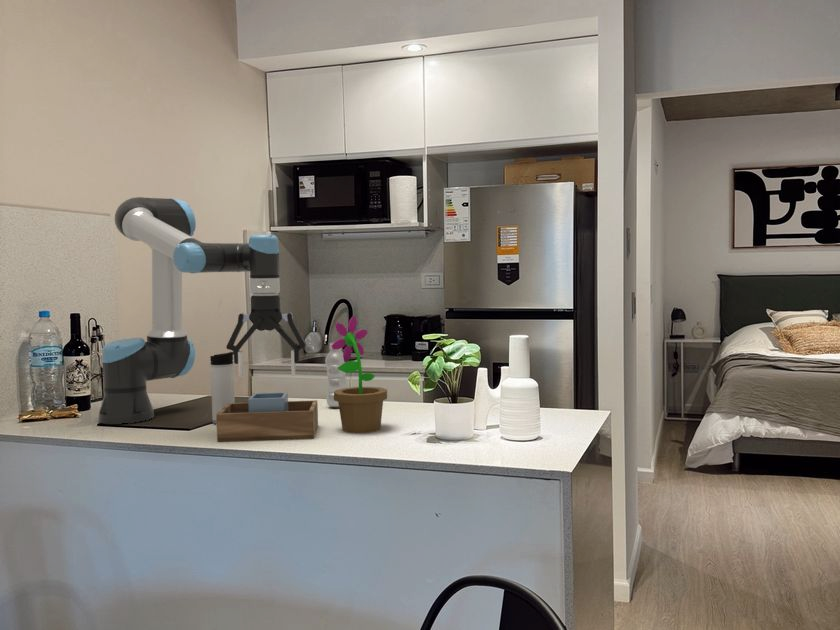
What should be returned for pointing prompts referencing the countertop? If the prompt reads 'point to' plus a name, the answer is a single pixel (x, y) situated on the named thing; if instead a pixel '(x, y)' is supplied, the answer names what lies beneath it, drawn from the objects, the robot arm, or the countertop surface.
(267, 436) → the walnut crate
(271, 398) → the slate crate
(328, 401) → the plastic bottle
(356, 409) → the flowerpot
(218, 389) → the travel mug
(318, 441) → the countertop surface
